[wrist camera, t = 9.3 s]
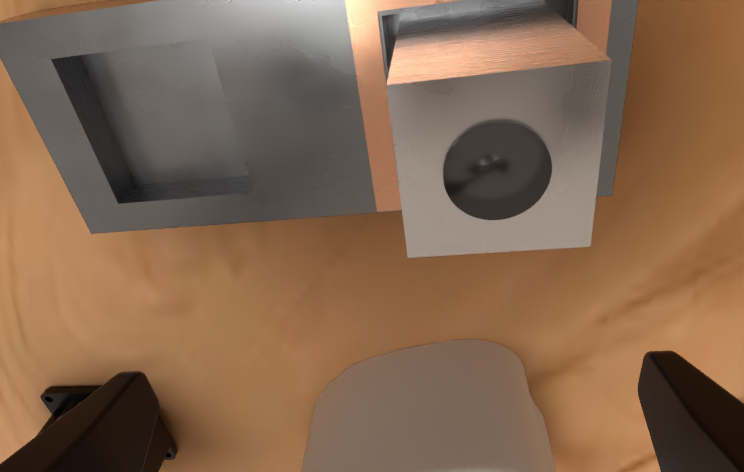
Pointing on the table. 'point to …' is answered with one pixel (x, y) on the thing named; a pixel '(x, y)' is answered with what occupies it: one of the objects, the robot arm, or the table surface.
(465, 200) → the block
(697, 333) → the table surface
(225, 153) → the grey flat block
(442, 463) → the lumpy-topped squat cylinder
